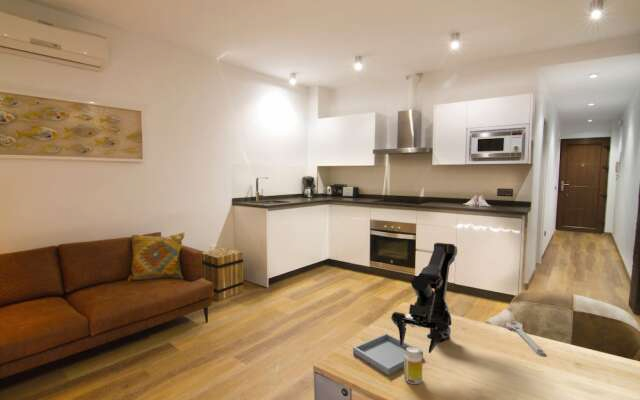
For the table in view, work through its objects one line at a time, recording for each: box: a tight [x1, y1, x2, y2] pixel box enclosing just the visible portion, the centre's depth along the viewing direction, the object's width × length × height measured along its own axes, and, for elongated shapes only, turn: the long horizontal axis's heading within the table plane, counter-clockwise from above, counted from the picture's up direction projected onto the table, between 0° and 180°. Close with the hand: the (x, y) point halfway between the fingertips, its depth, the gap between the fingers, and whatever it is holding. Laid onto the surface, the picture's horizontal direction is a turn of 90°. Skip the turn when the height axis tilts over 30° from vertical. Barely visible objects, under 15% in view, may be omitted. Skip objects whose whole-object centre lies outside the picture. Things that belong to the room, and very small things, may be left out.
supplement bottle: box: [403, 345, 423, 385], centre depth 110 cm, size 6×6×10 cm
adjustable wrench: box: [505, 321, 545, 356], centre depth 135 cm, size 25×6×2 cm, turn 169°
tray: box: [352, 332, 424, 377], centre depth 125 cm, size 18×18×2 cm
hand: (414, 349), depth 111 cm, fingers open, 9 cm apart
